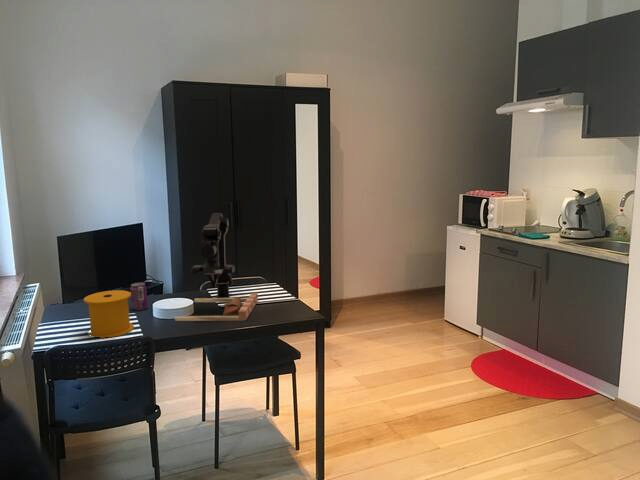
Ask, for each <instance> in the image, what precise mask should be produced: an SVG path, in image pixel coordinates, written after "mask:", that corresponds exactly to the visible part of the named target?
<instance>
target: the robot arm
mask: <svg viewBox="0 0 640 480" xmlns="http://www.w3.org/2000/svg"><path fill="white" fill-rule="evenodd" d="M229 222H230V221H229V219H228V217H227V216H225V215H223V213H220V212H218V213H217V212H215V213H212V214H211V217H210V220H209V223H208V224H206V225H204V226H203V228H202V229H201V236H200V237H201V238H200V243H201V244H204V246H202V248H201V250H200V253H201V256H202V257H203V258H205V259H204V260H205V261H204V263H203V264H199V265H197V264H196V265H193V266H192V267H191V271H190V272H191V273H190V274H192V275H193V274H194V275H195V274H199V273H201V272H203V273H204V274H203V275H204V276H206V277H207V278H208V279H209V281H210V284H211V286H212V288H214V289H215V288H217V295H216V296H215V298H231V297H230V296H232V293H230V288H229V287H230V286H232V285H233V277H232V275H231V274H233V273H234V272H235V271H236V268H235V267H236V266H235V265H234V264H226V234H227V233H228V231H229V226H230V223H229Z"/></svg>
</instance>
